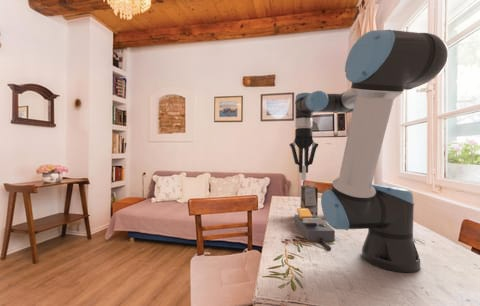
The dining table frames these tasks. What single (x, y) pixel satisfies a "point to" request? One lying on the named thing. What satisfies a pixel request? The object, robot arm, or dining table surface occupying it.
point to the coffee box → (309, 198)
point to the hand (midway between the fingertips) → (303, 179)
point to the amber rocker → (304, 213)
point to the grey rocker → (311, 220)
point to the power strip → (316, 231)
